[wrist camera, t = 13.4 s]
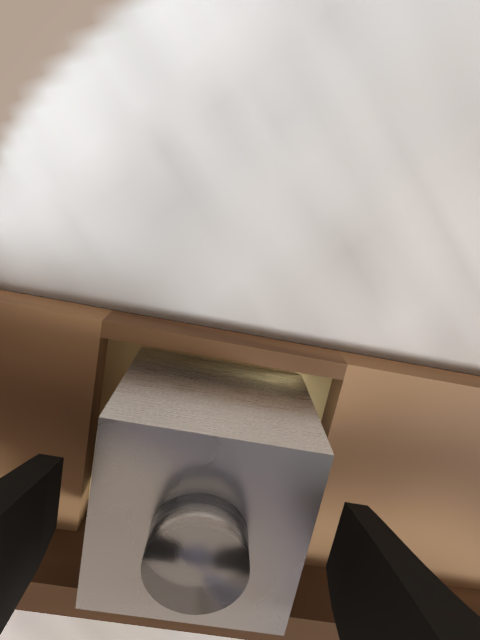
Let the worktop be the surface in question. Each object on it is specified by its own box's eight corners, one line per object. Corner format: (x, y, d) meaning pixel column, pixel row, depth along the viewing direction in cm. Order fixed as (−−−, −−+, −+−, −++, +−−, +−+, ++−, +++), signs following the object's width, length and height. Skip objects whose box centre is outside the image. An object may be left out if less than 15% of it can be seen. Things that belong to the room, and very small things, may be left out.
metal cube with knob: (268, 510, 15) (289, 679, 10) (120, 487, 15) (59, 650, 9) (301, 374, 14) (346, 484, 8) (141, 347, 13) (82, 442, 8)
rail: (617, 607, 17) (705, 699, 14) (-33, 513, 15) (-101, 593, 12) (715, 418, 15) (844, 476, 12) (-23, 285, 13) (-102, 311, 10)
